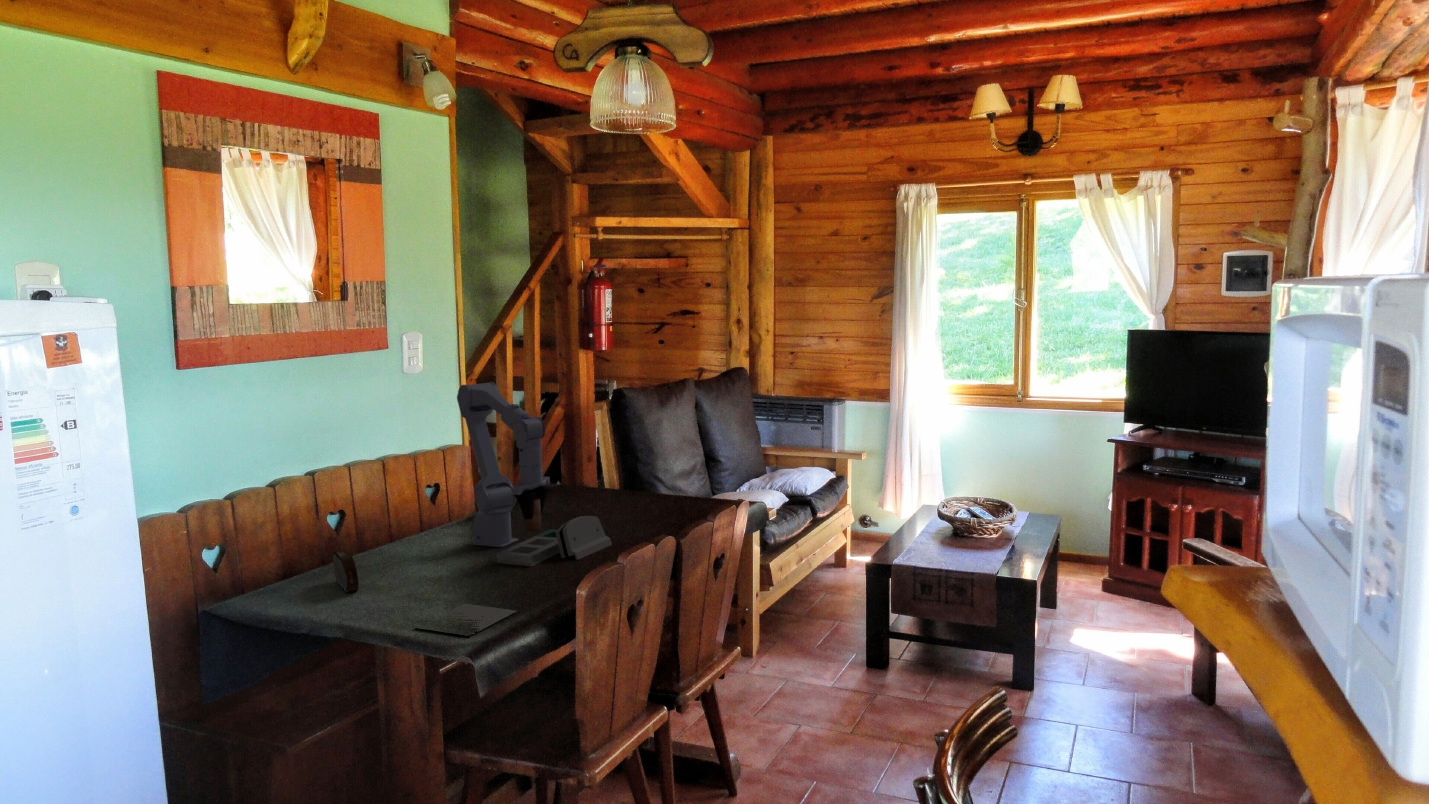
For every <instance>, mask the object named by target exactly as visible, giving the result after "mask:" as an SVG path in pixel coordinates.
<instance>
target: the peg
mask: <svg viewBox="0 0 1429 804" xmlns="http://www.w3.org/2000/svg"><path fill="white" fill-rule="evenodd" d="M524 521H525V522H524V523H525V531H526V532H530V533H531V532H532V533H535V532H539V531H542V515H541V507H540V498H535V500H534V505H533V518H532V519H524Z"/></svg>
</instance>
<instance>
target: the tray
mask: <svg viewBox="0 0 1429 804" xmlns="http://www.w3.org/2000/svg"><path fill="white" fill-rule="evenodd" d="M557 530H558V529H551V528H550V529H548V530H546V531H543V532H541V533H539V534H536V535H534V536H532V537H530V538H528V539H526V540H524V541H521V542H519V543H516V544H515V545H512V546H511V547H508V548H506V549H504V550H501V551H500V552H497V553H496V561H497V562H496V563H497V564H501V565H512V566H522V565H524V567H533V566H535V565H537V564H540V563H542V562H544V561H545V560H547V559H549V558H552V557H553V556H555V555H558V554H559V553H560V549H559V545H558V541H557V537H556V532H557Z"/></svg>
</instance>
